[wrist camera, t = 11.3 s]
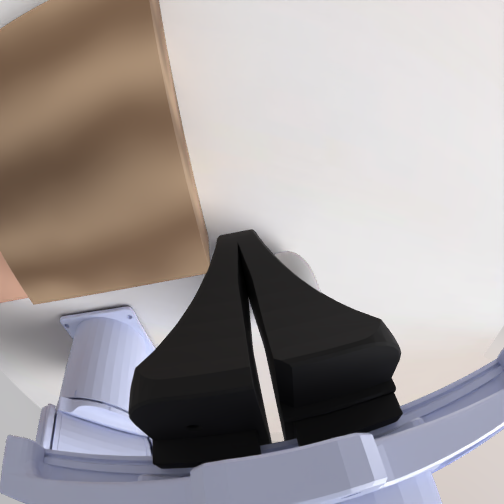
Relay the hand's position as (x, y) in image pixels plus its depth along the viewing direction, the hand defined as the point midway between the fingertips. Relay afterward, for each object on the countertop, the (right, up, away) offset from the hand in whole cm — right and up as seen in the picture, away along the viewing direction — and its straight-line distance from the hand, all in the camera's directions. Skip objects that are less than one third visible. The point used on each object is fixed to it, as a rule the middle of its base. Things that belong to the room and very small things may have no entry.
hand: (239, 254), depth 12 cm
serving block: (-11, +7, +5) cm, 14 cm away
